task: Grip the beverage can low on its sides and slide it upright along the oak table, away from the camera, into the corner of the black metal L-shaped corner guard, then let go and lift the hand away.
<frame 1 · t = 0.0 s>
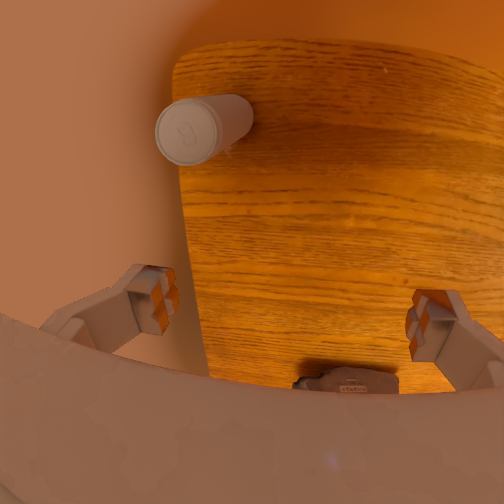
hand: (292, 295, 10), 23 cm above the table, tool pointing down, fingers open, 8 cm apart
beverage can: (232, 116, 29), on the table
decorative rock: (346, 369, 44), on the table
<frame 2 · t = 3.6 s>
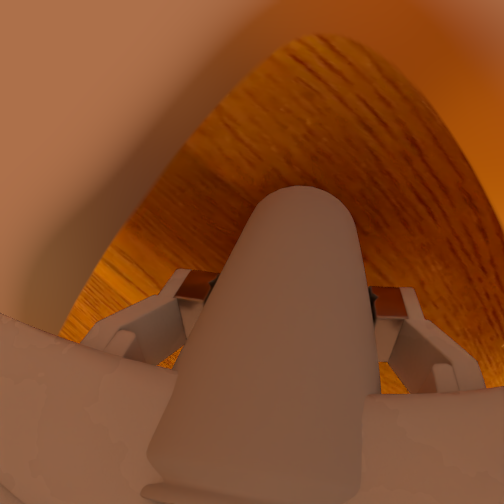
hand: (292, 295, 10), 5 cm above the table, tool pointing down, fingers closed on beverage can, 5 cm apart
beverage can: (302, 230, 14), on the table, touching gripper
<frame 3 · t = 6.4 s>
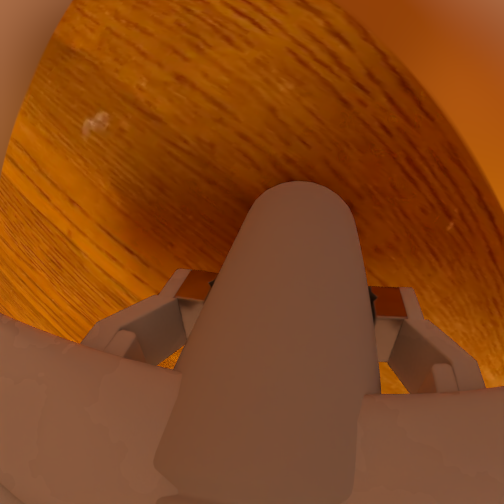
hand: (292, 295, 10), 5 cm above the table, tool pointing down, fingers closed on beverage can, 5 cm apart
beverage can: (301, 226, 14), on the table, touching gripper
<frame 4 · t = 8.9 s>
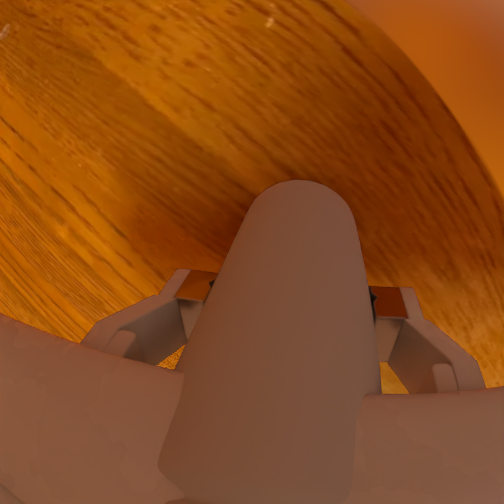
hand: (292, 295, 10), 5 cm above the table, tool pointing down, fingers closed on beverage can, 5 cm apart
beverage can: (300, 224, 14), on the table, touching gripper
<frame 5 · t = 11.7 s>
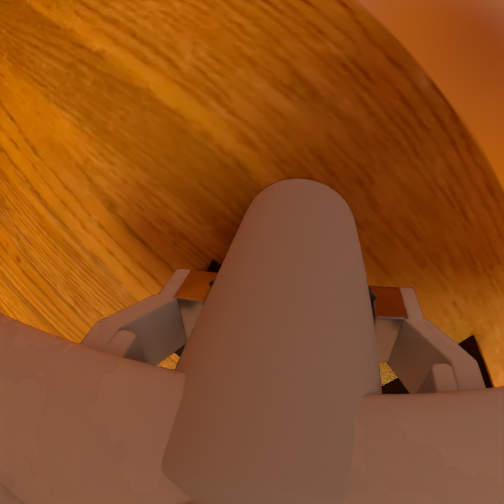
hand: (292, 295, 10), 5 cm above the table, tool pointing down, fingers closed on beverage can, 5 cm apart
corner guard: (370, 391, 19), on the table
beverage can: (300, 223, 14), on the table, touching gripper
when the fingers open (5 cm above the table, at t = 14.3 s): beverage can stays where it is, on the table.
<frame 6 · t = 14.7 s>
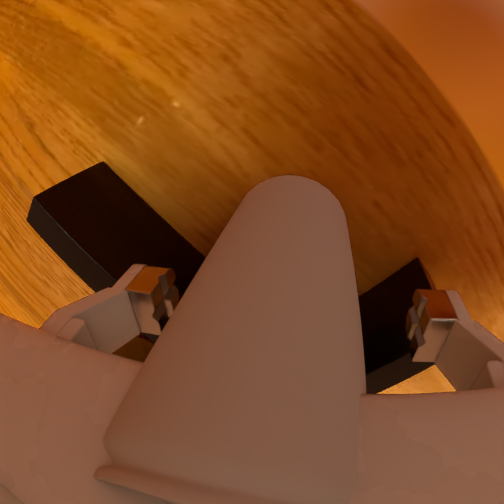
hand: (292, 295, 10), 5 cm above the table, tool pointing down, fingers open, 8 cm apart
corner guard: (294, 335, 17), on the table
beverage can: (292, 221, 14), on the table
apple: (154, 355, 21), on the table
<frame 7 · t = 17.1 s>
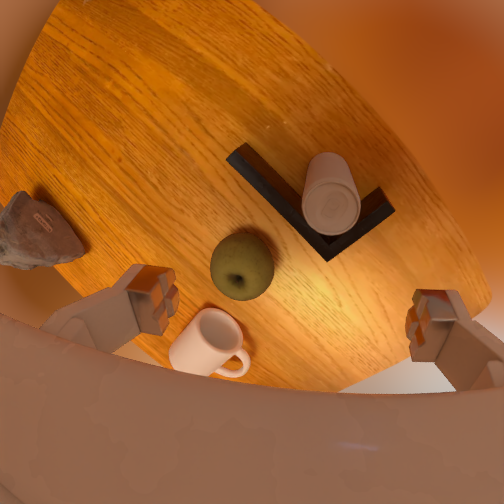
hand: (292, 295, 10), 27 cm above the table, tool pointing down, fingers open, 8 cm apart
corner guard: (328, 226, 37), on the table
beverage can: (328, 171, 34), on the table
mug: (222, 334, 50), on the table
apple: (249, 250, 41), on the table
decorative rock: (59, 217, 45), on the table
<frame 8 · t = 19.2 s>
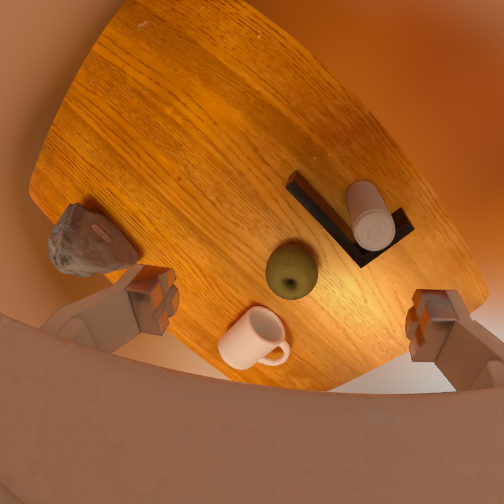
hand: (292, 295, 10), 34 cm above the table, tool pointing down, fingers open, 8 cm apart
corner guard: (359, 238, 45), on the table
beverage can: (361, 195, 42), on the table
mug: (263, 328, 58), on the table
apple: (293, 257, 49), on the table
decorative rock: (111, 226, 53), on the table
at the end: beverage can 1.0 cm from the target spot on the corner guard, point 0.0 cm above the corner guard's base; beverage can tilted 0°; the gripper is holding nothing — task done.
